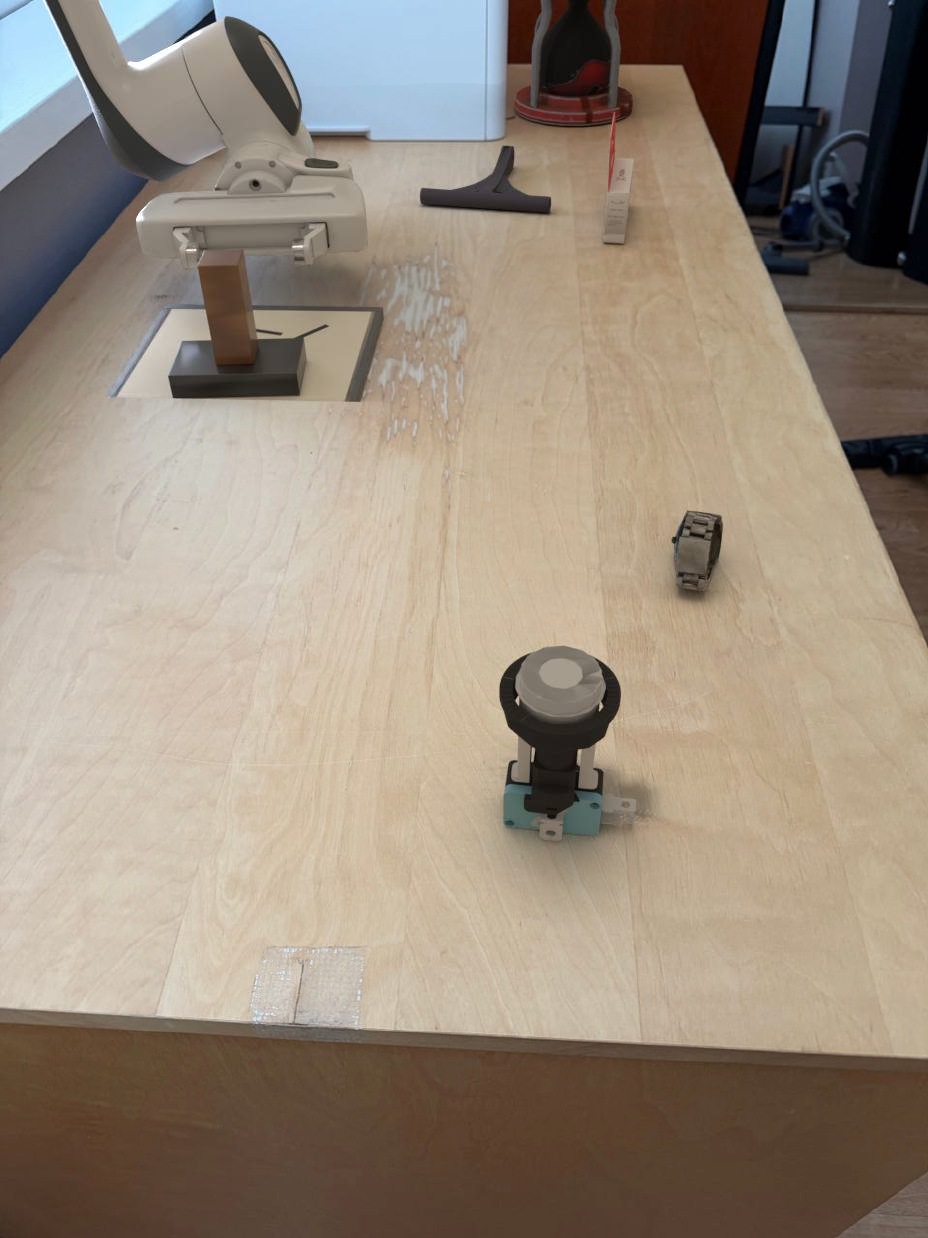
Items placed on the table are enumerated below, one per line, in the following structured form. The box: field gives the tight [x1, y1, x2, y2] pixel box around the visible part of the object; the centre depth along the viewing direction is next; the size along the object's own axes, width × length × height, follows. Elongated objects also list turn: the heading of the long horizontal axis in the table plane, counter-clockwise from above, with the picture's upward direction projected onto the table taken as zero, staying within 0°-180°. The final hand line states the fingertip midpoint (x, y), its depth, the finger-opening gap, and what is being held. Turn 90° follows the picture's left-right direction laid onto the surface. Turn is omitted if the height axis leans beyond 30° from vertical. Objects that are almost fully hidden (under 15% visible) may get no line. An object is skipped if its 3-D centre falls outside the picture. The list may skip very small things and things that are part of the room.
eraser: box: [168, 250, 307, 399], centre depth 81 cm, size 10×6×10 cm, turn 91°
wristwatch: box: [671, 509, 724, 592], centre depth 64 cm, size 3×5×5 cm
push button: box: [498, 645, 637, 842], centre depth 48 cm, size 7×5×10 cm
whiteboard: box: [105, 303, 384, 403], centre depth 86 cm, size 20×22×1 cm
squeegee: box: [419, 145, 552, 214], centre depth 119 cm, size 14×15×3 cm
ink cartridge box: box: [602, 112, 635, 245], centre depth 107 cm, size 2×11×10 cm, turn 171°
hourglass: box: [513, 0, 634, 127], centre depth 134 cm, size 16×16×25 cm
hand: (245, 258), depth 88 cm, fingers open, 8 cm apart
